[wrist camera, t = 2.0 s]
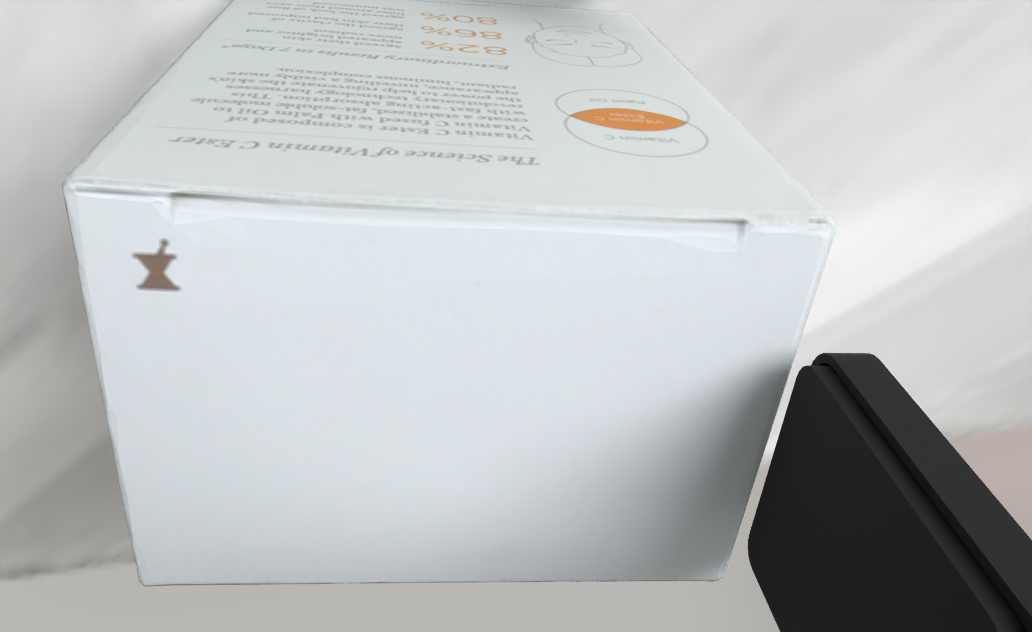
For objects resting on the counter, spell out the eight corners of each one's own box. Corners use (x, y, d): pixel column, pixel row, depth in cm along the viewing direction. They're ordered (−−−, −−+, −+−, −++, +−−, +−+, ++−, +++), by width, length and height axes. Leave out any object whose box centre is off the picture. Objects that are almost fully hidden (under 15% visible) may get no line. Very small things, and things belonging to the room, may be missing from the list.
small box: (261, 231, 20) (116, 598, 11) (244, -26, 17) (28, 179, 8) (603, 248, 21) (732, 598, 12) (642, 7, 18) (854, 224, 9)
